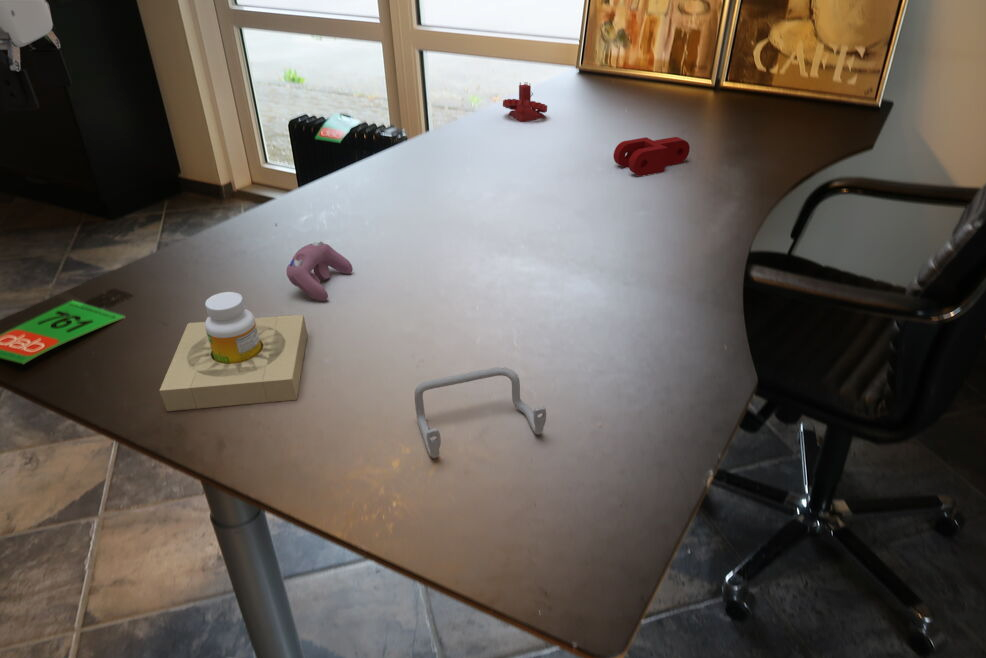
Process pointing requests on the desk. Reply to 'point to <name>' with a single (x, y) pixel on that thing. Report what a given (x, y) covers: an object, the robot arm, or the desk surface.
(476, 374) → the bracket
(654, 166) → the mechanical linkage
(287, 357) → the socket pad
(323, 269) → the video game controller
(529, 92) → the red cross-shaped piece
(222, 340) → the supplement bottle
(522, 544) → the desk surface
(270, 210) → the desk surface
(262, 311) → the desk surface
